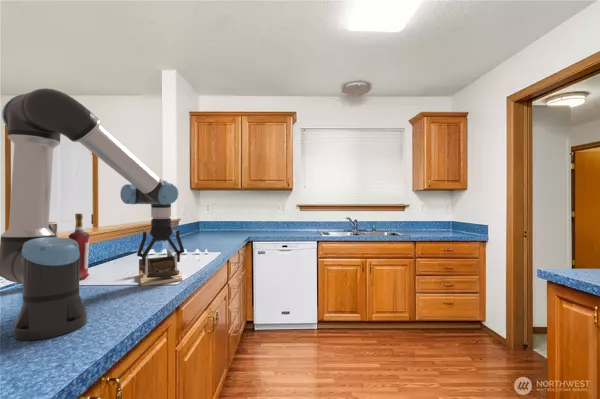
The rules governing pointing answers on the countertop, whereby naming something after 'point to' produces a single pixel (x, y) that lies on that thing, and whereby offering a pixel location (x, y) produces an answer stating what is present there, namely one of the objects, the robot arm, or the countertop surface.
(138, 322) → the countertop surface
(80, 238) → the liquor
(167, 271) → the clothes iron
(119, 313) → the countertop surface
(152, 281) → the cradle
